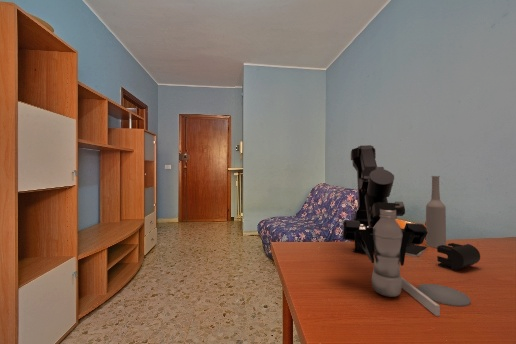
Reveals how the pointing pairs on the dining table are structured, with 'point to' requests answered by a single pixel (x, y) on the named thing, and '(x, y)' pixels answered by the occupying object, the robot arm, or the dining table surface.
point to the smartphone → (415, 250)
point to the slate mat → (444, 295)
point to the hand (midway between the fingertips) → (387, 263)
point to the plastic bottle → (387, 255)
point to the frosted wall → (421, 297)
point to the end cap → (457, 256)
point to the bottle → (435, 217)
